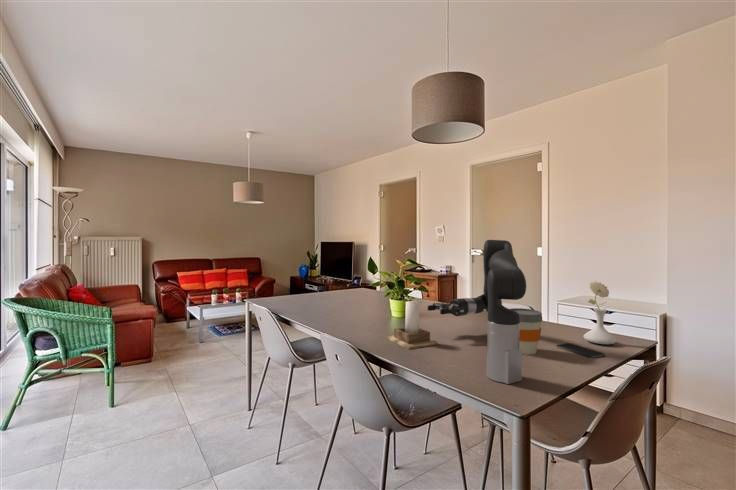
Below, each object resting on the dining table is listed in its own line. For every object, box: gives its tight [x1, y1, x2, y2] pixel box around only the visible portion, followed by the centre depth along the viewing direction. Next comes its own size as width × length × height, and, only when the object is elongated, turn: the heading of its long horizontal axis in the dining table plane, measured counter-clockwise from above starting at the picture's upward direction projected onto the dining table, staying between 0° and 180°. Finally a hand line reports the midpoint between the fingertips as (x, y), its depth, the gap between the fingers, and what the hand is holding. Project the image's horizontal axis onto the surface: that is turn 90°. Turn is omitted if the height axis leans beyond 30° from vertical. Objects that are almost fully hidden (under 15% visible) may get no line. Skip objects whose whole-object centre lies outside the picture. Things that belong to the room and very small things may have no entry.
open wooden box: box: [386, 327, 439, 350], centre depth 148 cm, size 16×14×4 cm
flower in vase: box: [583, 280, 617, 345], centre depth 149 cm, size 13×11×25 cm
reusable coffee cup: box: [510, 307, 543, 356], centre depth 137 cm, size 12×13×15 cm
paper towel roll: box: [404, 300, 420, 334], centre depth 148 cm, size 6×6×15 cm
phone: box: [556, 342, 606, 359], centre depth 137 cm, size 8×1×15 cm
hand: (434, 309), depth 153 cm, fingers open, 8 cm apart
